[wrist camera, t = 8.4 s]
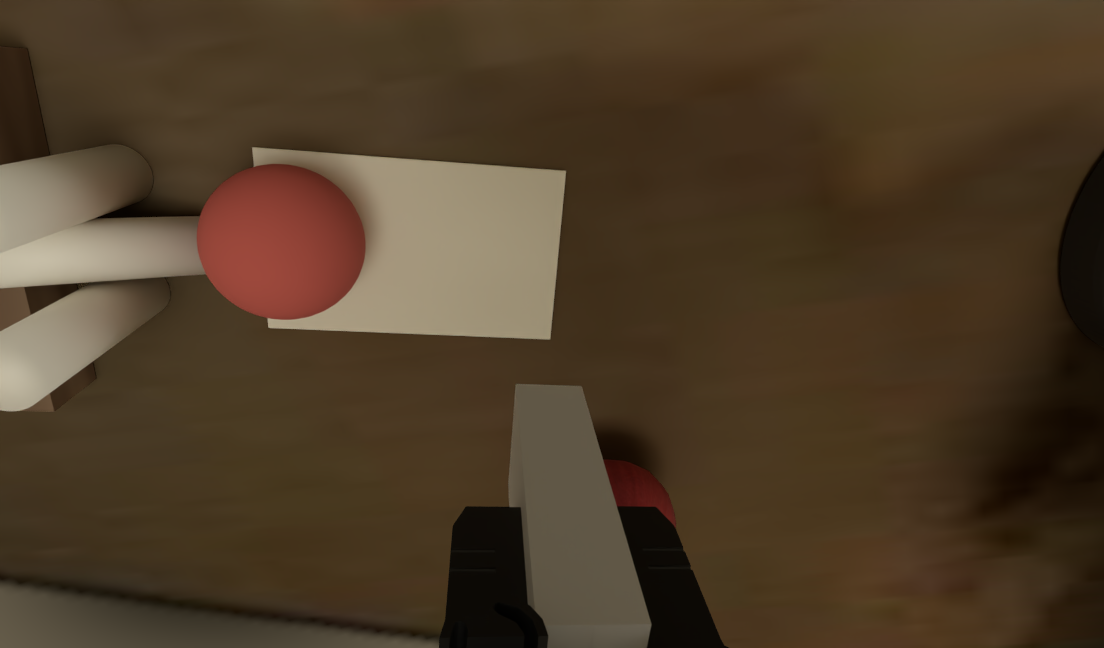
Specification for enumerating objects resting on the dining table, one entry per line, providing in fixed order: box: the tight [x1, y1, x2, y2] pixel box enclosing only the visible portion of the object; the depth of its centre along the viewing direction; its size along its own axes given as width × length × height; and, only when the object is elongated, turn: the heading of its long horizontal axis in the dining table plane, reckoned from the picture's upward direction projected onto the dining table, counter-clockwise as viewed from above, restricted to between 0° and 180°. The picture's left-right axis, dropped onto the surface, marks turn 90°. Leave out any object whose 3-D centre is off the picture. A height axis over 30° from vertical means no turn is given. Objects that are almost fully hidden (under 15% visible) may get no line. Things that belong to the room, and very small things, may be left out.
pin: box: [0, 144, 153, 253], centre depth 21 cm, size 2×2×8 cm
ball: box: [197, 164, 366, 320], centre depth 24 cm, size 6×6×6 cm
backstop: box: [0, 46, 96, 412], centre depth 24 cm, size 2×14×3 cm, turn 175°
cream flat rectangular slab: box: [252, 147, 566, 339], centre depth 28 cm, size 13×8×1 cm, turn 85°
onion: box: [603, 459, 676, 527], centre depth 30 cm, size 6×6×8 cm
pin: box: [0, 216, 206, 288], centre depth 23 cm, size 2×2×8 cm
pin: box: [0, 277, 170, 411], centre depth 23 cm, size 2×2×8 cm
